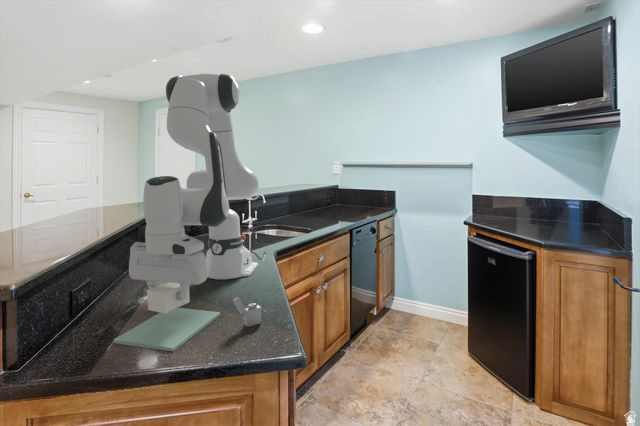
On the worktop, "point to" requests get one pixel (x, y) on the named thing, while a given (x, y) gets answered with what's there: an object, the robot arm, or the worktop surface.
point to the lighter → (249, 312)
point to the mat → (168, 329)
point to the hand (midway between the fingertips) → (169, 298)
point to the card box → (165, 297)
